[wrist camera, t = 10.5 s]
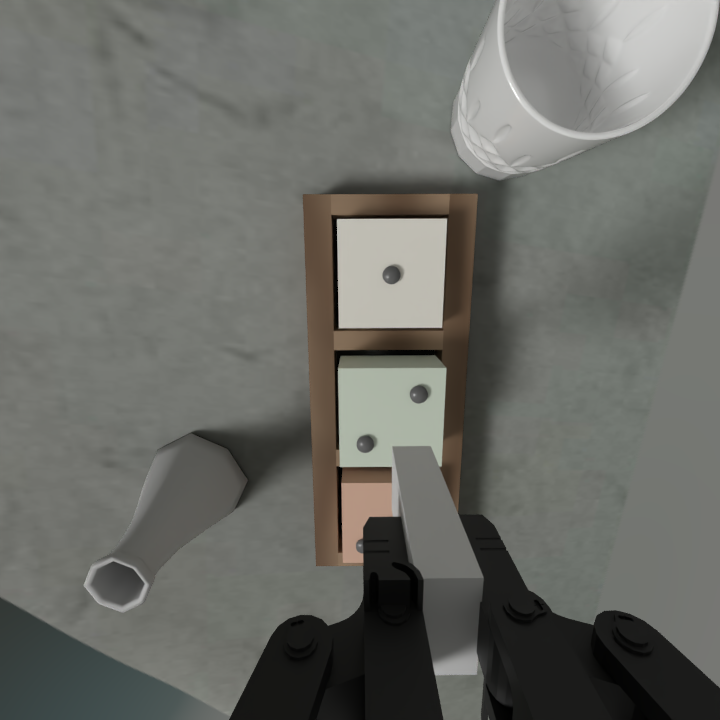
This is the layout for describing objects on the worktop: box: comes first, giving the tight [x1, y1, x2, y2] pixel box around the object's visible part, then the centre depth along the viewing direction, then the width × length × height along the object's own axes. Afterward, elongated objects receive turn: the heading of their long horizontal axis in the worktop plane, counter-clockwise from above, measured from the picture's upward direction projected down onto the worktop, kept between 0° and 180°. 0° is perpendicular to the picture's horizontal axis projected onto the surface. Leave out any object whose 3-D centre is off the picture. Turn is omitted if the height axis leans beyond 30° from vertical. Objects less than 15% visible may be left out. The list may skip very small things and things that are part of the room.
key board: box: [303, 194, 478, 566], centre depth 26 cm, size 10×25×2 cm, turn 0°
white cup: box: [451, 0, 720, 180], centre depth 19 cm, size 8×8×10 cm
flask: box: [84, 433, 248, 613], centre depth 24 cm, size 7×7×10 cm
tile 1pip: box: [337, 219, 447, 328], centre depth 23 cm, size 6×6×3 cm
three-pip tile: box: [341, 467, 393, 563], centre depth 27 cm, size 6×6×3 cm
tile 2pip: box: [338, 355, 446, 467], centre depth 23 cm, size 6×6×3 cm
